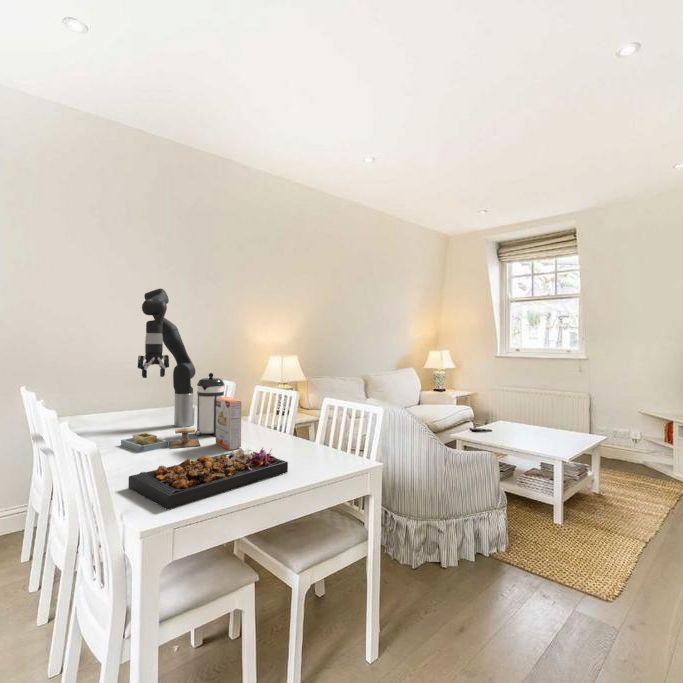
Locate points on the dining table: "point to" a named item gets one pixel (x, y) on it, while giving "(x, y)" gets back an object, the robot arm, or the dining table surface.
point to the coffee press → (208, 403)
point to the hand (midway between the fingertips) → (153, 377)
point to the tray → (140, 448)
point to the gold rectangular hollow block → (144, 439)
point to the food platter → (205, 477)
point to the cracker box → (228, 422)
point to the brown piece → (184, 439)
